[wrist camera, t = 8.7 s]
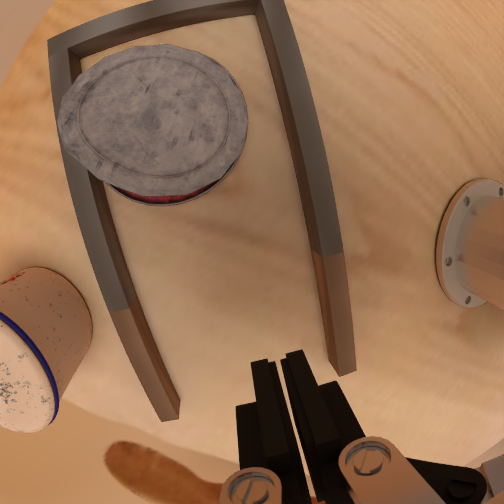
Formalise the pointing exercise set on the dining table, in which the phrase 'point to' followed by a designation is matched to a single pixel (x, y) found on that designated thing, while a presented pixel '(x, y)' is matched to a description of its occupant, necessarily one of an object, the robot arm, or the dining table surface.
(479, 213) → the robot arm
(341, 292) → the can dock
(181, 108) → the canned food
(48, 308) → the teacup with lid
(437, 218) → the dining table surface
